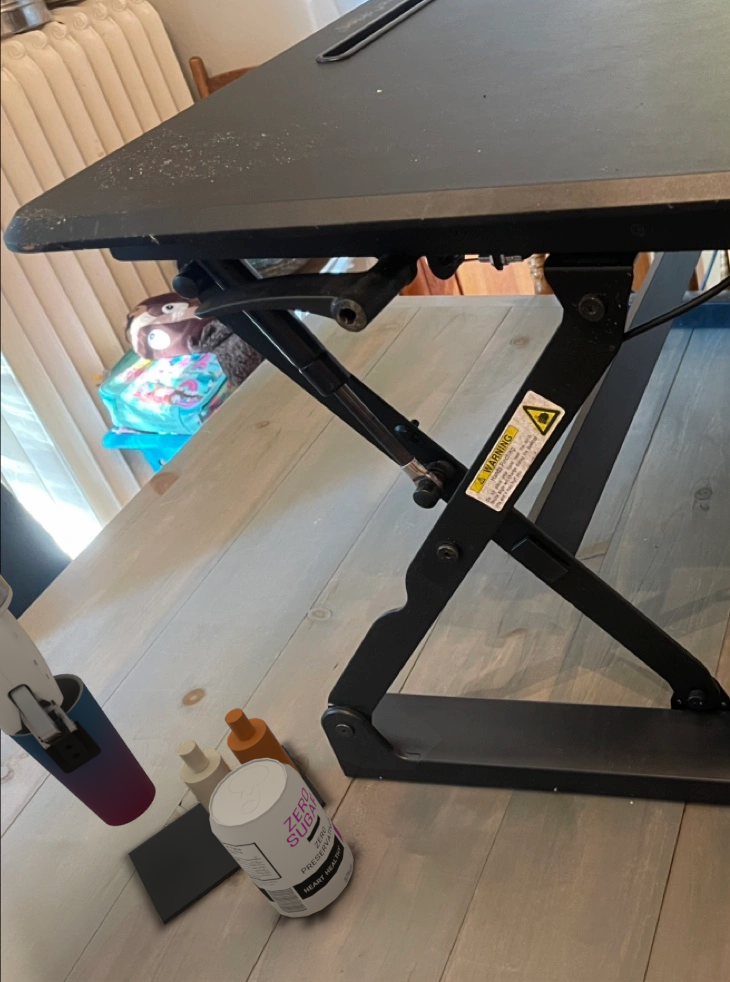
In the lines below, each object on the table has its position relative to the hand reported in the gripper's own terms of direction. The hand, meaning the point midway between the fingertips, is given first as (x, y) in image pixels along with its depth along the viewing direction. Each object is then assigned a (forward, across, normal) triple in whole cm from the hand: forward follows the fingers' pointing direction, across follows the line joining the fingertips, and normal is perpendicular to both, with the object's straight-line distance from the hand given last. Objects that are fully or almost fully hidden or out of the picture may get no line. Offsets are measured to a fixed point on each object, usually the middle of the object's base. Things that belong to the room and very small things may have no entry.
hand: (72, 739), depth 96 cm
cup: (+10, 0, 0) cm, 10 cm away
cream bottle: (+20, 0, +7) cm, 21 cm away
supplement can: (+21, +13, +9) cm, 26 cm away
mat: (+21, 0, +5) cm, 21 cm away
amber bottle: (+20, 0, +12) cm, 23 cm away
